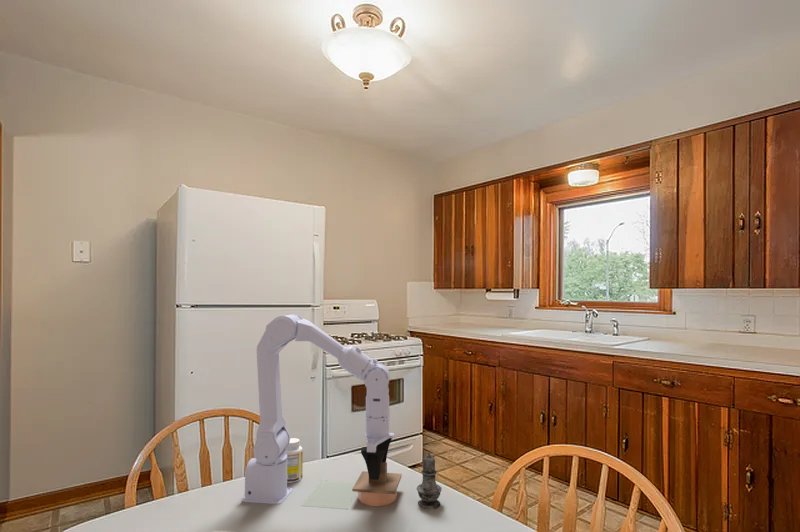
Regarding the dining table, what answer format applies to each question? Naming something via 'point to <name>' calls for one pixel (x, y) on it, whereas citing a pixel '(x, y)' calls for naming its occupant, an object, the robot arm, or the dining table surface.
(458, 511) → the dining table surface
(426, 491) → the salt shaker
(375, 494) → the terracotta bowl
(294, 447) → the supplement bottle
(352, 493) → the sage rubber mat
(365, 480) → the walnut lid
